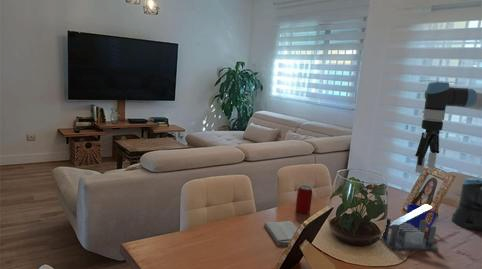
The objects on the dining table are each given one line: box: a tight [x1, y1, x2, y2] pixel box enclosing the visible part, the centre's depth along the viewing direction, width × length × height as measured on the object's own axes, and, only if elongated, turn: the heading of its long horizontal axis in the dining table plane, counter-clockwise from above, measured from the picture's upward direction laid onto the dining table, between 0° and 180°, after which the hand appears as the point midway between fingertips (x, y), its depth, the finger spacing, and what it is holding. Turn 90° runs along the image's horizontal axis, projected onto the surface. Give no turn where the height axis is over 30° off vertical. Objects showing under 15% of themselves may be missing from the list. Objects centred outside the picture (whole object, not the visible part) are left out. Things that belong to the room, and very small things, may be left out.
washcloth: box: [263, 220, 298, 247], centre depth 141 cm, size 12×18×3 cm, turn 15°
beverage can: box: [295, 185, 313, 214], centre depth 166 cm, size 7×7×12 cm
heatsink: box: [380, 217, 439, 251], centre depth 143 cm, size 20×12×9 cm, turn 99°
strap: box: [387, 203, 434, 230], centre depth 141 cm, size 19×4×1 cm, turn 98°
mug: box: [405, 203, 437, 229], centre depth 158 cm, size 8×12×10 cm
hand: (425, 170), depth 147 cm, fingers open, 13 cm apart
